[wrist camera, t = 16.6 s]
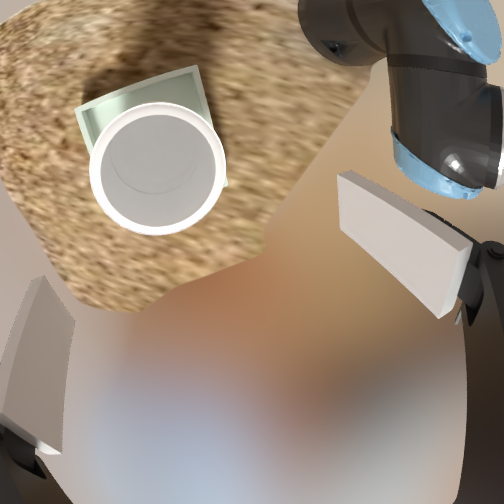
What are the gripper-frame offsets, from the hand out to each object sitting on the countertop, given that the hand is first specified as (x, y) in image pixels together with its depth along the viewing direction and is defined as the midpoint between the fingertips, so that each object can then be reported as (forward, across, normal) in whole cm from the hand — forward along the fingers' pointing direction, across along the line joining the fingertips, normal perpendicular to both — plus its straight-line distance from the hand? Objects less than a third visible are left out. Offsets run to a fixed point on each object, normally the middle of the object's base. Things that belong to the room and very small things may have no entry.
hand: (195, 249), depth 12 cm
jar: (+26, +1, 0) cm, 26 cm away
